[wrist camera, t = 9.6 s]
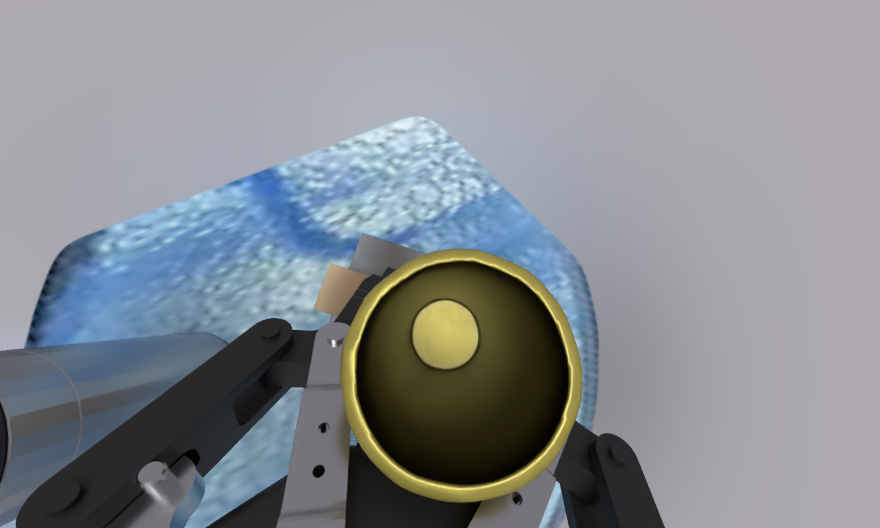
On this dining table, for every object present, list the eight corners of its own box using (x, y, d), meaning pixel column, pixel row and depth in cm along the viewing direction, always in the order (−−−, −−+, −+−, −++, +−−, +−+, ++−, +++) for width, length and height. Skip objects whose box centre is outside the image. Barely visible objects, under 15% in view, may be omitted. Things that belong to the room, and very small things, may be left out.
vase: (456, 268, 22) (494, 179, 8) (510, 346, 21) (667, 410, 7) (379, 321, 21) (262, 330, 7) (431, 403, 20) (422, 604, 6)
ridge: (323, 347, 32) (295, 355, 27) (364, 235, 34) (347, 219, 28) (516, 414, 31) (532, 438, 25) (549, 295, 33) (572, 292, 27)
